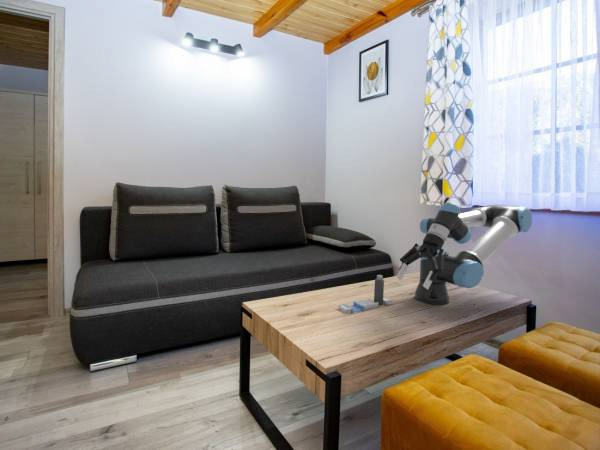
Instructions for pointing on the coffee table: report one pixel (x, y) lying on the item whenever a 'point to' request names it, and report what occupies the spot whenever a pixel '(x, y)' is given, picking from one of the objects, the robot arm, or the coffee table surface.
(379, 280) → the cable plug
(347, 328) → the coffee table surface
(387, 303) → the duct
